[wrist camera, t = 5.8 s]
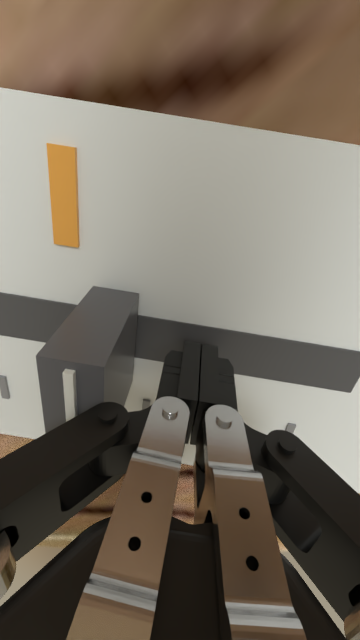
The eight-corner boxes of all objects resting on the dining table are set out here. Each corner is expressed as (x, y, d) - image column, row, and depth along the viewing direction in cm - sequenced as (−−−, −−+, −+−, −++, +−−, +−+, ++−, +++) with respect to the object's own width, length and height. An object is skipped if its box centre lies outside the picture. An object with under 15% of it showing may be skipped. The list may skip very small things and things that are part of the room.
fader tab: (93, 285, 13) (32, 360, 9) (139, 293, 13) (102, 371, 9) (93, 374, 16) (46, 467, 11) (132, 381, 16) (101, 477, 11)
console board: (-171, 63, 12) (-315, 33, 9) (542, 177, 12) (670, 191, 9) (-55, 397, 21) (-104, 444, 18) (348, 464, 21) (374, 524, 18)
